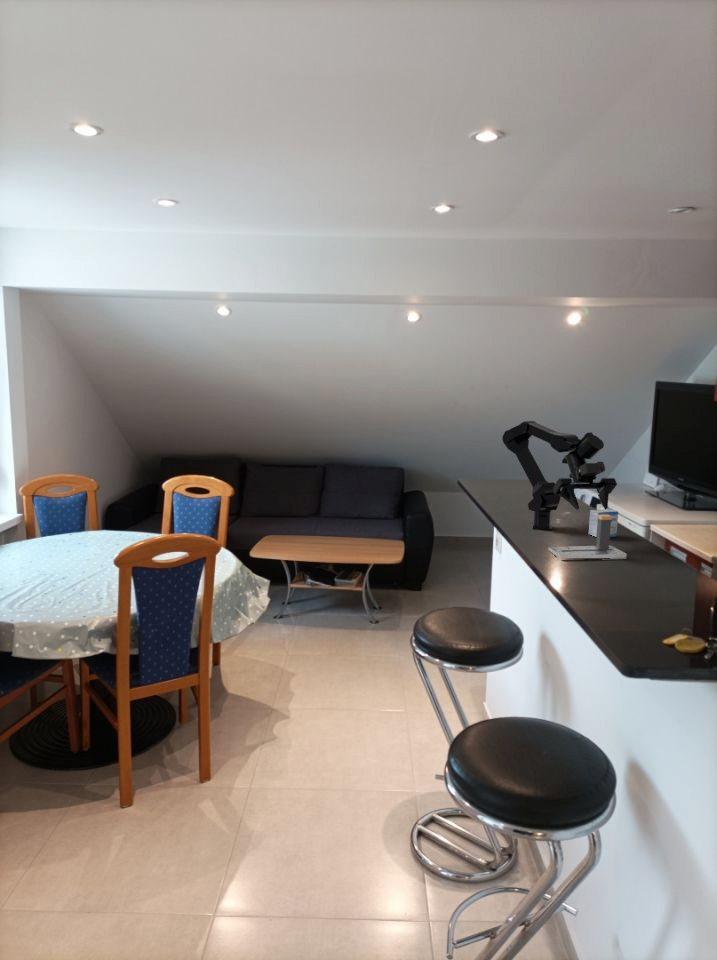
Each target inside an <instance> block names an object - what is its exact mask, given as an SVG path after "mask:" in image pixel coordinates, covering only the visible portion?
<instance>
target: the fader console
mask: <svg viewBox="0 0 717 960" xmlns="http://www.w3.org/2000/svg"><path fill="white" fill-rule="evenodd" d="M548 550H550V551H551V552H553V553H554V554H556V555H558V556H559V557H561V558H610V559H609V560H627V554H628V553H625V552H624V551H622V550H620V549H618V548H616V546H613V545H610V544H609V550H599V549H597V548H596V545H586V546H585V545H581V546H579V545H576V546H570V545H569V546H548Z"/></svg>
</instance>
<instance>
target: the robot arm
mask: <svg viewBox="0 0 717 960" xmlns="http://www.w3.org/2000/svg"><path fill="white" fill-rule="evenodd" d="M532 436H533V437H535V438H537V439H539V440H542V441H544V442H546V443H548V444H549V445H550V447H551V449H553V450H554V451H556V452H558V453H559V454H560V453H561V454H562V453H566V454H565V455H564V457H563V458H562V460H561V464H564V465H565V464H566V465H567V466H568V469H569V473H570V474H569V475H568V476H569V477H559V478H558V479H557V481H556V482H552V481H551V482H548V481H547V479H546V478H545V476H544V474H543V472H542V471H541V469H540V467H539V465H538V464H537V461H536V459H535V457H534V456H533V454H532V453H531V450H530V448H529V445H530V440H529V439H531V438H532ZM502 443H503V444H504V446H505V447H506V449H507V450H508V451H510V452H512V453H513V454H515V457H517V460H518V461H519V464H520V466H521V468H522V470H523V472H524V473H525V475H526V477H527V479H528V481H529V483H530V484H531V486H532V493H531V495H532V499H531V500H530V501H529V502H528V503H527V507H528V510H529V511H531V512H533V522H531V525H530V526H531V528H532V530H548V529H549V531H550V530H551V531H552V530H553V528H552V525H551V517H552V516H551V515H552V511H557V509H558V508H559V507H558V506H559V504H560V501H561V498H563V500H565V501H566V502H568V503H569V504H570V506H572V507H573V508H574V509H575V510H576V511H578V510H580V505H579V502H578V498H577V497H576V496H577V495H576V493H575V490H577V489H580V490H596V492H597V493H598V494H597V497H598V500H599V501H600V503H601V505H602V507H603V508H604V509H603V510H607V509H608V506H609V495H610V494H611V493H612V492H613V491H614V489H615V487H617V485H618V483H617V480H616V478H614V477H602V478H601V479H600V481H598V482H594V480H596V479H597V476H598V475H600V474H601V473H604V472H605V471H606V467H605V464H604V461H597V462H589V463H588V462H587V460H592V458H594V457H595V456H596V455H597V454H598V453H599V452H600V451H602V449H604V446H605V443H604V441H603V440H602V439H601V438H600V437H598V436H597V435H595V434H593V431H592V432H586V433H585V434H584V436H583V437H581V439H580V438H579V436H577V435H576V434H573V433H566V432H558V431H556V430H554V429H552V428H549V427H547V426H544V425H543V424H540V423H538V422H537V421H535V420H526V421H522V422H520V423H519V424H518V425H516V426H514V427H511V428H509V429H507V430H505V431H504V433H503V434H502Z"/></svg>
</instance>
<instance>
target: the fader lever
mask: <svg viewBox="0 0 717 960" xmlns="http://www.w3.org/2000/svg"><path fill="white" fill-rule="evenodd" d="M610 527H611V516H609V515H598V527H597V538H595V539H596V544H595V546H596V548H597V549H599V550H609V546H610V539H611V537H610Z"/></svg>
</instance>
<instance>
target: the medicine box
mask: <svg viewBox="0 0 717 960" xmlns="http://www.w3.org/2000/svg"><path fill="white" fill-rule="evenodd" d="M598 515H609V516H611V527H610V538H616V537H617V532H618V524H619V523H618V522H619V511H618V510H614V509H610V508H609V509H608V508H607V509H590V510H589V522H588V523H589V524H588V527H589V528H588V535H589V534H590V535H592V536H591V537H593V536H595V537H597V527H598ZM590 535H589V536H590ZM595 537H594V538H595Z"/></svg>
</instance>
